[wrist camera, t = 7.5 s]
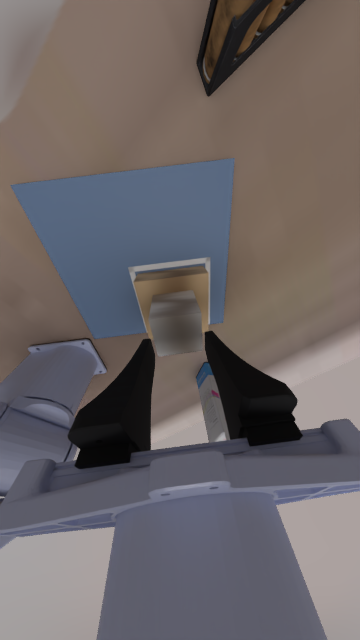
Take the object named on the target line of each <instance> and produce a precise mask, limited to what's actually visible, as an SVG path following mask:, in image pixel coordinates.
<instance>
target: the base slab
mask: <svg viewBox="0 0 360 640" xmlns="http://www.w3.org/2000/svg"><path fill="white" fill-rule="evenodd" d="M133 283H134V287H135V290H136V294H137V297H138V301H139V304H140V308H141V311H142V315H143V318H144V322H145V326H146V329H147V333H148V336H149V339H153V335H152V331H151V328H150V324H149V320H148V319H149V314H150V308H151V302H152V296H153V295H157V294H165V293H172V292H180V291H188V290H193V292H194V295H195V297H196V300H197V303H198V305H199V308H200V311H201V318H202V333H205V332H206V331H208V300H209V273H208V271H207V270H206V269H205V268H204V266H196V267H188V268H180V269H172V270H164V271H156V272H148V273H140V274H137V276H136V278H135V280H134V282H133Z"/></svg>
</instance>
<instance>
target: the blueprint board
mask: <svg viewBox="0 0 360 640" xmlns="http://www.w3.org/2000/svg"><path fill="white" fill-rule="evenodd" d="M234 159H235V158H232V159H223V160H215V161H207V162H198V163H190V164H182V165H173V166H165V167H157V168H148V169H140V170H132V171H124V172H115V173H107V174H99V175H90V176H82V177H74V178H65V179H57V180H49V181H40V182H32V183H24V184H15V185H10V186H11V187H12V189H13V191H14V193H15V195H16V196H17V198H18V200H19V202H20V204H21V206H22V207H23V209H24V211H25V213H26V215H27V217H28V218H29V220H30V222H31V224H32V226H33V227H34V229H35V231H36V233H37V235H38V237H39V238H40V240H41V242H42V244H43V246H44V248H45V249H46V251H47V253H48V255H49V257H50V259H51V260H52V262H53V264H54V266H55V268H56V269H57V271H58V273H59V275H60V277H61V279H62V280H63V282H64V284H65V286H66V288H67V290H68V291H69V293H70V295H71V297H72V299H73V300H74V302H75V304H76V306H77V308H78V310H79V311H80V313H81V315H82V317H83V319H84V321H85V322H86V324H87V326H88V328H89V330H90V332H91V333H92V335H93V337H94V339H99V338H106V337H114V336H122V335H130V334H138V333H146V332H147V329H146V326H145V322H144V318H143V315H142V311H141V308H140V304H139V301H138V297H137V294H136V290H135V287H134V283H133V282H134V280H135V278H136V276H137V274H140V273H148V272H156V271H164V270H172V269H180V268H188V267H196V266H204V268H205V269H206V270H207V271H208V273H209V300H208V325H209V324H216V323H223V316H224V302H225V288H226V273H227V259H228V245H229V230H230V216H231V202H232V187H233V173H234Z"/></svg>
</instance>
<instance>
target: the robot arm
mask: <svg viewBox="0 0 360 640" xmlns="http://www.w3.org/2000/svg"><path fill="white" fill-rule="evenodd" d="M83 342H84V343H83ZM28 350H29V351H30V353H31V354H30V355H29V356H27V357H26V358H25V359H24V360H23V361H22V362H21V363H20V364H19V365H18V366H17V367H16V368H15V369H14V370H13V371H12V372H11V373H10V374H9V375H8V376H7V377H6V378H5V379H4V380H3V381H2V382H1V383H0V496H4V497H5V498H1V499H0V549H1V548H2V547H4V546H5V545H6V544H8V543H9V542H10V541H12V540H13V539H14V538H16V537H24V536H32V535H40V534H48V533H57V532H66V531H76V530H87V529H96V528H106V527H115V531H114V538H113V543H112V550H111V555H110V561H109V568H108V574H107V580H106V586H105V592H104V599H103V604H102V610H101V616H100V622H99V628H98V634H97V640H327V637H326V635H325V633H324V630H323V627H322V624H321V622H320V619H319V617H318V614H317V611H316V609H315V606H314V604H313V601H312V598H311V596H310V593H309V590H308V588H307V585H306V583H305V580H304V577H303V575H302V572H301V570H300V567H299V564H298V562H297V559H296V557H295V554H294V551H293V549H292V546H291V543H290V541H289V538H288V536H287V533H286V531H285V528H284V525H283V523H282V520H281V517H280V515H279V512H278V510H277V507H276V505H279V504H285V503H290V502H296V501H302V500H307V499H313V498H319V497H325V496H331V495H337V494H343V493H350V492H357V491H360V431H359V430H358V429H357V428H356V427H355V426H354V425H353V423H352V422H351V421H350V420H349V419H340V420H333V421H328V422H325V423H324V424H322V426H321V428H316V429H308V430H301V431H300V430H299V428H298V427H297V425H296V424H295V422H294V421H295V418H294V416H293V415H292V411H293V410H294V408H295V406H296V405H297V398H296V397H295V395H294V394H293V393H292V391H291V390H290V389H289V388H288V386H287V385H286V384H285V383H283V382H281V381H279V380H276V379H274V378H272V377H270V376H268V375H266V374H264V373H263V372H261V371H259V370H257V369H256V368H254V367H253V366H251V365H249V364H248V363H246V362H245V361H244V360H242V359H241V358H240V357H238V356H237V355H236V354H235V353H233V352H232V351H231V350H230V349H229V348H228V347H227V346H226V345H225V344H224V343H223V342H222V341H221V340H220V339H219V338H218V337H217V336H216V335H215V333H214V332H213V331H206V332H205V351H206V355H207V359H208V362H209V365H210V367H211V370H212V373H213V376H214V378H215V381H216V384H217V387H218V391H219V395H220V399H221V403H222V407H223V411H224V415H225V419H226V423H227V428H228V432H229V437H230V440H225V441H218V442H210V443H203V444H195V445H188V446H180V447H173V448H165V449H157V450H151V393H152V385H153V377H154V369H155V353H154V350H153V346H152V342H151V339H143V341H142V342H141V344H140V346H139V348H138V349H137V351H136V352H135V354H134V355H133V357H132V359H131V360H130V361H129V363H128V364H127V365H126V367H125V368H124V369H123V371H122V372H121V373H120V374H119V375H118V377H117V378H116V379H115V380H114V381H113V382H112V383H111V384H110V385H109V386H108V387H107V388H106V389H105V390H104V391H103V392H102V393H100V394H99V395H98V396H97V397H96V398H95V399H93V400H92V401H91V402H90V403H88V404H87V405H86V406H85V407H83V408H82V409H81V410H79V412H78V414H77V416H76V418H75V417H74V415H75V413H76V411H77V409H78V407H79V404H80V402H81V400H82V398H83V396H84V394H85V392H86V389H87V387H88V385H89V383H90V381H91V379H92V377H93V375H95V374H102V373H106V371H107V369H106V368H105V366H104V364H103V363H102V361H101V359H100V357H99V356H98V354H97V352H96V350H95V349H94V347H93V345H92V343H91V342H90V340H88V339H83V340H75V341H67V342H60V343H52V344H44V345H36V346H30V347H29V348H28ZM77 447H78V448H80V452H79V455H78V457H77V460H75V461H73V459H74V456H75V454H76V451H77Z"/></svg>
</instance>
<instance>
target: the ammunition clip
mask: <svg viewBox="0 0 360 640" xmlns="http://www.w3.org/2000/svg"><path fill="white" fill-rule="evenodd" d="M304 1H305V0H211V2H210V6H209V10H208V15H207V19H206V24H205V28H204V32H203V37H202V41H201V46H200V50H199V54H198V59H197V66H198V69H199V72H200V75H201V78H202V81H203V84H204V87H205V90H206V93H207V96H210V95H211V94H212V93H213V92H214V91H215V90H216V89H217V88H218V87H219V86H220V85H221V84H222V83H223V82H224V81H225V80H226V79H227V78H228V77H229V76H230V75H231V74H232V73H233V72H234V71H235V70H236V69H237V68H238V67H239V66H240V65H241V64H242V63H243V62H244V61H245V60H246V59H247V58H248V57H249V56H250V55H251V54H252V53H253V52H254V51H255V50H256V49H257V48H258V47H259V46H260V45H261V44H262V43H263V42H264V41H265V40H266V39H267V38H268V37H269V36H270V35H271V34H272V33H273V32H274V31H275V30H276V29H277V28H278V27H279V26H280V25H281V24H282V23H283V22H284V21H285V20H286V19H287V18H288V17H289V16H290V15H291V14H292V13H293V12H294V11H295V10H296V9H297V8H298V7H299V6H300V5H301V4H302V3H303V2H304Z"/></svg>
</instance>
